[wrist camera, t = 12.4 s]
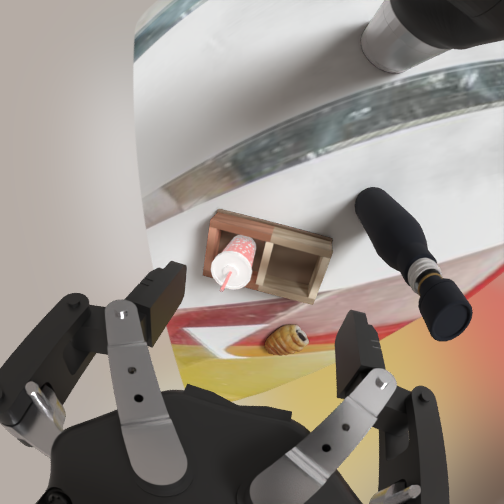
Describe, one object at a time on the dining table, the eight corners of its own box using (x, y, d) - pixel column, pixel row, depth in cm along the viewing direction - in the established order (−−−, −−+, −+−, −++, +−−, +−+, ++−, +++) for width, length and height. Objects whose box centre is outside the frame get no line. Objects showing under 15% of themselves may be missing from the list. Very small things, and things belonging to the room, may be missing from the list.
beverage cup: (234, 266, 51) (211, 312, 38) (220, 235, 49) (191, 276, 36) (265, 257, 49) (251, 304, 36) (253, 225, 47) (233, 264, 34)
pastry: (276, 354, 60) (274, 366, 57) (258, 336, 59) (255, 348, 55) (311, 338, 56) (311, 350, 53) (293, 317, 55) (292, 330, 52)
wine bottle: (349, 218, 44) (400, 349, 18) (360, 182, 41) (442, 276, 15) (383, 228, 44) (457, 357, 17) (395, 193, 41) (498, 294, 14)
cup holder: (218, 208, 48) (209, 217, 43) (332, 238, 46) (334, 250, 42) (210, 263, 53) (201, 276, 48) (313, 290, 51) (313, 306, 47)
